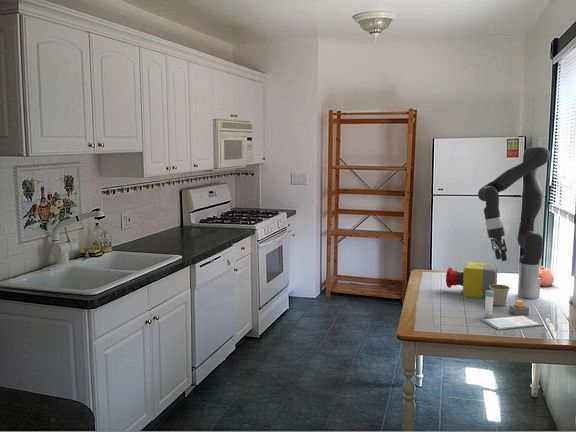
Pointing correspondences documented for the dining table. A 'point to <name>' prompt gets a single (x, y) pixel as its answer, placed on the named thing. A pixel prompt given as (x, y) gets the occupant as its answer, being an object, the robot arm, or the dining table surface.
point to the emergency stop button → (473, 279)
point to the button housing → (518, 310)
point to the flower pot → (499, 294)
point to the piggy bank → (545, 276)
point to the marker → (489, 303)
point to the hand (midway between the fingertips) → (501, 259)
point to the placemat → (511, 322)
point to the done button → (519, 303)
